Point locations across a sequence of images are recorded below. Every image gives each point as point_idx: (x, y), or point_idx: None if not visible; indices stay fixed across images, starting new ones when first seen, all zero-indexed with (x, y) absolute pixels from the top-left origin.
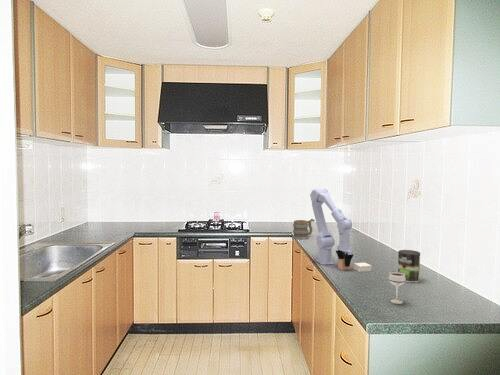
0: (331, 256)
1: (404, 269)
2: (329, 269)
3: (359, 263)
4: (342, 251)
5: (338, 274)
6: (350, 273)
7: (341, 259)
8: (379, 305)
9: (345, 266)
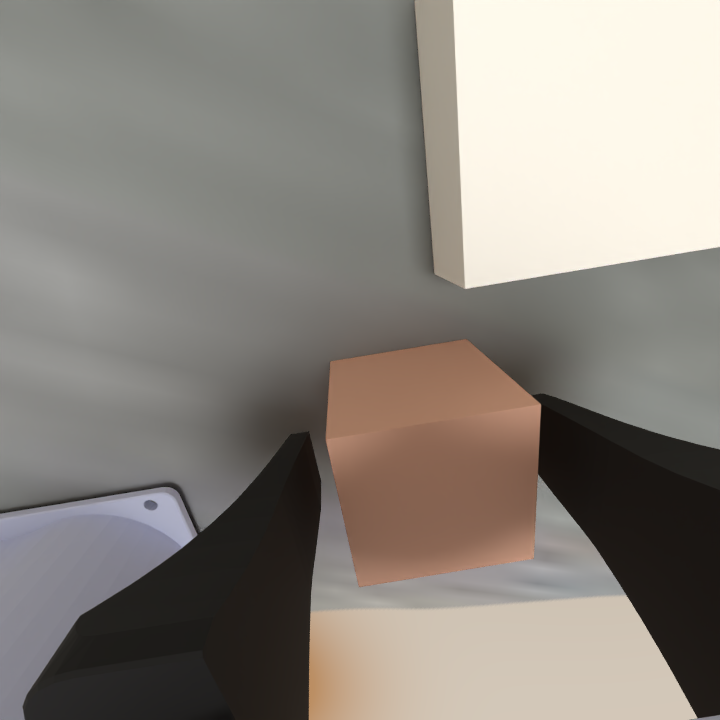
0: (72, 618)
1: None
2: None
3: (510, 147)
4: (257, 713)
5: None
6: (659, 393)
7: (406, 543)
8: None
9: None
